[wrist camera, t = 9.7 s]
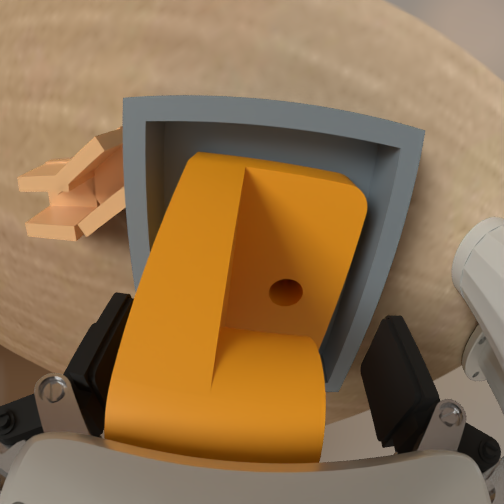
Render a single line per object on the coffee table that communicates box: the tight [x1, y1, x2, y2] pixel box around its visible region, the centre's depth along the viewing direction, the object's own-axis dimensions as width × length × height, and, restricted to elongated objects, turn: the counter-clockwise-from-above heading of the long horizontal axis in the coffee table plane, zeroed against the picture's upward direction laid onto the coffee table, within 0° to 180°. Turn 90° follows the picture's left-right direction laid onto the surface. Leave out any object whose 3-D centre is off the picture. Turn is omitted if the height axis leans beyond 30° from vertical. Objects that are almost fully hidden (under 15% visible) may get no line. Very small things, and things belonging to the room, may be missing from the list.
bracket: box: [104, 152, 367, 464], centre depth 11 cm, size 11×7×12 cm, turn 172°
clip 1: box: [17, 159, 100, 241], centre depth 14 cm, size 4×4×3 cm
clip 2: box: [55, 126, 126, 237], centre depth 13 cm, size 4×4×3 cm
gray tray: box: [123, 95, 425, 392], centre depth 15 cm, size 12×16×4 cm
